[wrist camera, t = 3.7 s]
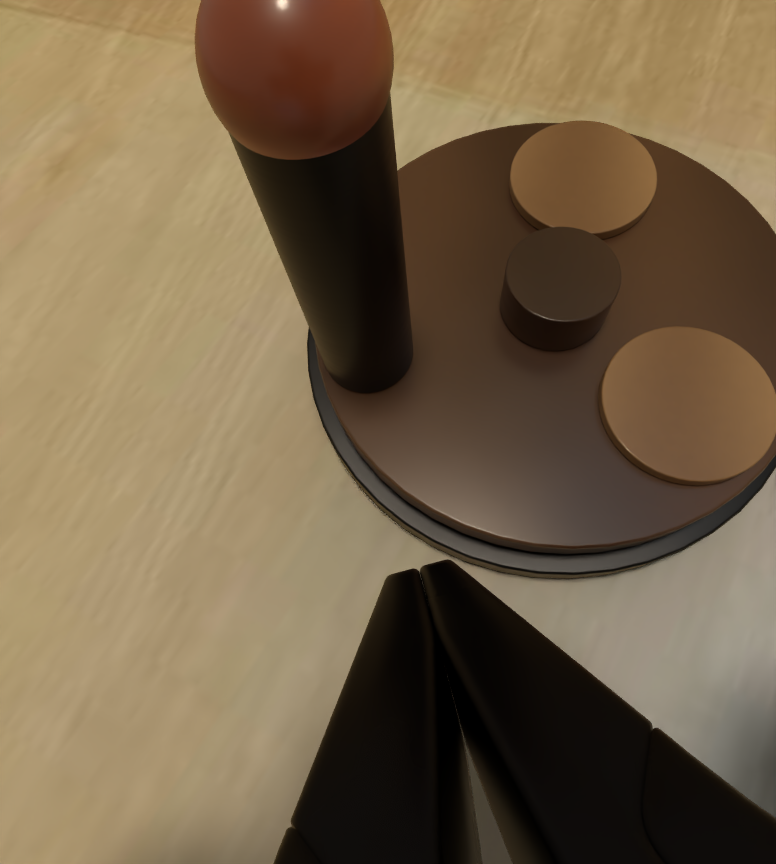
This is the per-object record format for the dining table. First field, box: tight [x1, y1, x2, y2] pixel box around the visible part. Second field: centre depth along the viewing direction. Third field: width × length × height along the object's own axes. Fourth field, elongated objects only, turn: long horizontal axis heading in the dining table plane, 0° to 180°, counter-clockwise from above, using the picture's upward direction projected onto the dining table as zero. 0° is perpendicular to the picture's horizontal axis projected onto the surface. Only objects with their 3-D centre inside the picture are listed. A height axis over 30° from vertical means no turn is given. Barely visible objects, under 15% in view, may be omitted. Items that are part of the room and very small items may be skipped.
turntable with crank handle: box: [195, 0, 776, 554], centre depth 12 cm, size 14×14×11 cm
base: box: [307, 328, 776, 579], centre depth 19 cm, size 15×15×1 cm
